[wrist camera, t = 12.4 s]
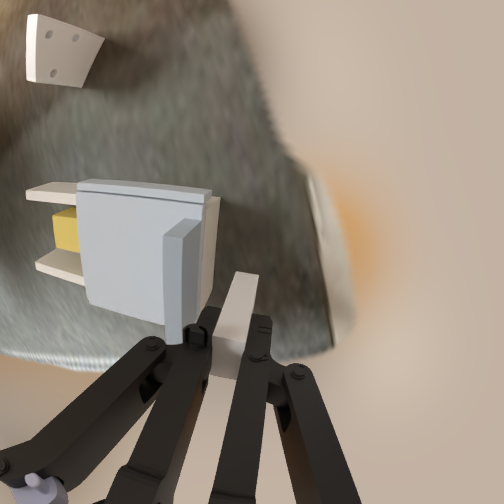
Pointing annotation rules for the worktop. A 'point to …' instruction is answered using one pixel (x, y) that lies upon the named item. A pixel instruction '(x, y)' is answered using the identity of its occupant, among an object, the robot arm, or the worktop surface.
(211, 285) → the long white channel rail
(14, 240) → the worktop surface
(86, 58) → the white angled block
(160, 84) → the worktop surface
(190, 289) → the cover
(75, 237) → the mustard yellow cuboid
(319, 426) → the robot arm
